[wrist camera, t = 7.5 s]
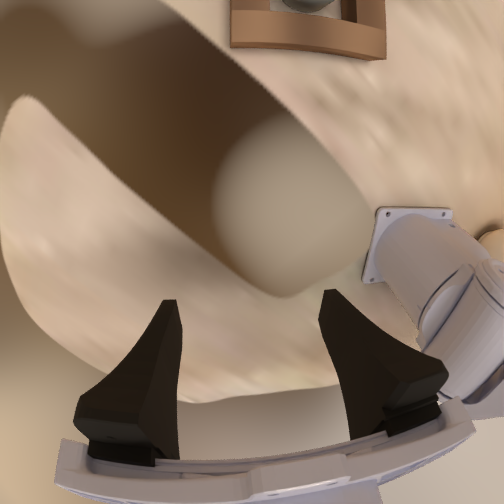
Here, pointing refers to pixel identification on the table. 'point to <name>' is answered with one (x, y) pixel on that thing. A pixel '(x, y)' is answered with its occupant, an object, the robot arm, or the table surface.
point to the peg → (307, 4)
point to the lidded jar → (494, 243)
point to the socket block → (311, 29)
